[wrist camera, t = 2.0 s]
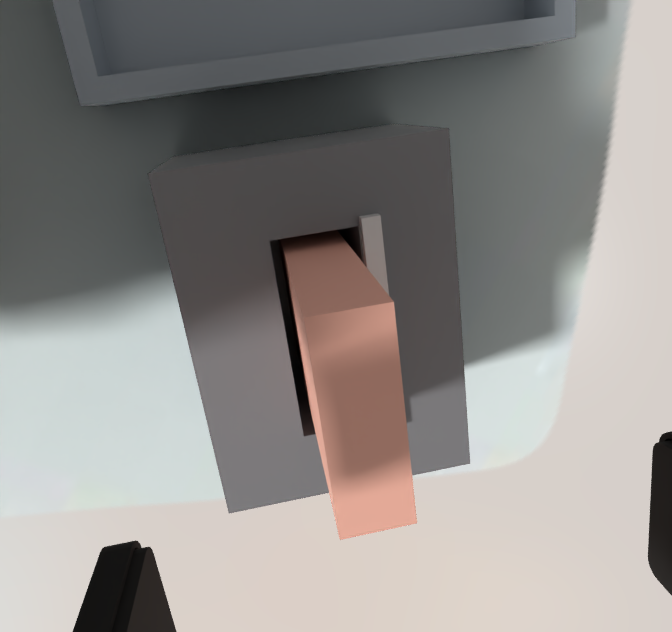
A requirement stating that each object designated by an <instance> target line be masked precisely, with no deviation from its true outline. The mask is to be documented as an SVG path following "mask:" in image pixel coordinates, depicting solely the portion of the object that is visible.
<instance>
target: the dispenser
mask: <svg viewBox="0 0 672 632" xmlns="http://www.w3.org/2000/svg"><path fill="white" fill-rule="evenodd" d="M148 177H149V181H150V186H151V190H152V194H153V198H154V202H155V206H156V211H157V215H158V219H159V223H160V227H161V232H162V236H163V240H164V244H165V248H166V252H167V257H168V261H169V265H170V269H171V273H172V278H173V282H174V286H175V290H176V294H177V298H178V303H179V307H180V311H181V315H182V319H183V323H184V328H185V332H186V336H187V340H188V344H189V349H190V353H191V357H192V361H193V365H194V369H195V374H196V378H197V382H198V386H199V390H200V394H201V399H202V403H203V407H204V411H205V415H206V420H207V424H208V428H209V432H210V436H211V440H212V445H213V449H214V453H215V457H216V461H217V465H218V470H219V474H220V478H221V482H222V486H223V491H224V495H225V499H226V503H227V507H228V511H229V513H233V512H238V511H243V510H248V509H252V508H257V507H262V506H267V505H272V504H277V503H281V502H286V501H291V500H296V499H301V498H306V497H310V496H315V495H320V494H325V493H329V490H328V485H327V481H326V476H325V472H324V468H323V463H322V459H321V455H320V450H319V446H318V441H317V437H316V433H315V428H314V424H313V420H312V415H311V411H310V406H309V402H308V398H307V393H306V389H305V385H304V380H303V376H302V371H301V367H300V363H299V358H298V354H297V348H296V342H295V336H294V330H293V324H292V318H291V313H290V307H289V301H288V295H287V289H286V283H285V277H284V272H283V266H282V260H281V254H280V248H279V242H278V239H283V238H289V237H295V236H301V235H308V234H314V233H320V232H326V231H332V230H337V231H338V232H339V233H340V235H341V236H342V237H343V238H344V240H345V241H346V242H347V243H348V245H349V246H350V247H351V248H352V250H353V251H354V252H355V253H356V255H357V256H358V257H359V258H360V260H361V261H362V262H363V264H364V265H365V266H366V267H367V269H368V270H369V271H370V272H371V274H372V275H373V276H374V277H375V279H376V280H377V281H378V282H379V284H380V285H381V286H382V287H383V289H384V290H385V291H386V292H387V294H388V295H389V296H390V297H391V299H392V300H393V301H394V308H395V317H396V327H397V336H398V346H399V355H400V365H401V374H402V384H403V394H404V403H405V413H406V422H407V432H408V441H409V451H410V460H411V470H412V475H416V474H421V473H426V472H431V471H436V470H441V469H445V468H450V467H455V466H460V465H465V464H470V454H469V438H468V423H467V407H466V391H465V376H464V360H463V344H462V328H461V313H460V297H459V281H458V266H457V250H456V234H455V218H454V203H453V187H452V171H451V156H450V140H449V128H438V127H427V126H415V125H404V124H387V125H380V126H374V127H367V128H360V129H353V130H347V131H340V132H333V133H326V134H320V135H313V136H306V137H299V138H293V139H286V140H279V141H272V142H265V143H259V144H252V145H245V146H238V147H232V148H225V149H218V150H211V151H205V152H198V153H191V154H184V155H178V156H173V157H172V158H170V159H169V160H167V161H166V162H164V163H163V164H161V165H160V166H158V167H157V168H155V169H154V170H152V171H151V172H149V173H148Z"/></svg>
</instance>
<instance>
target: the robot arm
mask: <svg viewBox="0 0 672 632" xmlns="http://www.w3.org/2000/svg"><path fill="white" fill-rule="evenodd" d="M652 460H653V461H652V480H651V481H652V482H651V501H650V523H649V545H648V546H649V547H648V561H649V565H650V568H651V570H652V572H653V574H654V576H655V577H656V578H657V580H658V581H659V582H660V583H661V584H662V585H663V586H664V587H665V589H666V590H667V591H668V592H669V593H670V594H671V595H672V432H667V433H664V434H662V436H661V437H660V440H659V442H658V443H656V444H655V445H654V447H653V457H652ZM73 632H176V629H175V625H174V622H173V619H172V615H171V612H170V608H169V605H168V601H167V598H166V595H165V591H164V588H163V584H162V581H161V577H160V574H159V571H158V567H157V564H156V561H155V557H154V554H153V551H152V549H151V548H150V547H145V548H141V545H140V543H139V542H138V541H132V542H127V543H122V544H117V545H112V546H107V547H104V548H103V549H102V550H101V552H100V555H99V557H98V561H97V563H96V566H95V569H94V572H93V575H92V577H91V581H90V583H89V586H88V589H87V592H86V595H85V598H84V601H83V604H82V606H81V609H80V612H79V615H78V618H77V621H76V624H75V627H74V629H73Z"/></svg>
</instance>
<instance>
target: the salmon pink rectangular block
mask: <svg viewBox="0 0 672 632" xmlns="http://www.w3.org/2000/svg"><path fill="white" fill-rule="evenodd" d="M278 242H279V248H280V254H281V260H282V266H283V272H284V277H285V283H286V289H287V295H288V301H289V307H290V313H291V318H292V324H293V330H294V336H295V342H296V348H297V354H298V358H299V363H300V367H301V371H302V376H303V380H304V385H305V389H306V393H307V398H308V402H309V406H310V411H311V415H312V420H313V424H314V428H315V433H316V437H317V441H318V446H319V450H320V455H321V459H322V463H323V468H324V472H325V476H326V481H327V485H328V490H329V494H330V498H331V503H332V507H333V511H334V516H335V520H336V525H337V529H338V533H339V537H340V540H341V539H346V538H351V537H356V536H360V535H365V534H369V533H374V532H379V531H383V530H388V529H393V528H397V527H402V526H406V525H411V524H416V523H417V518H416V509H415V498H414V489H413V479H412V470H411V460H410V451H409V441H408V432H407V422H406V413H405V403H404V394H403V384H402V374H401V365H400V355H399V346H398V336H397V327H396V317H395V308H394V301H393V300H392V299H391V297H390V296H389V295H388V294H387V292H386V291H385V290H384V289H383V287H382V286H381V285H380V284H379V282H378V281H377V280H376V279H375V277H374V276H373V275H372V274H371V272H370V271H369V270H368V269H367V267H366V266H365V265H364V264H363V262H362V261H361V260H360V258H359V257H358V256H357V255H356V253H355V252H354V251H353V250H352V248H351V247H350V246H349V245H348V243H347V242H346V241H345V240H344V238H343V237H342V236H341V235H340V233H339V232H338V231H337V230H332V231H326V232H320V233H314V234H308V235H301V236H295V237H289V238H283V239H278Z"/></svg>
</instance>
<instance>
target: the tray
mask: <svg viewBox="0 0 672 632" xmlns="http://www.w3.org/2000/svg"><path fill="white" fill-rule="evenodd" d="M52 3H53V7H54V10H55V14H56V18H57V21H58V25H59V29H60V33H61V36H62V40H63V44H64V48H65V51H66V55H67V59H68V63H69V66H70V70H71V74H72V77H73V81H74V85H75V89H76V92H77V96H78V100H79V104H80V105H82V106H104V105H112V104H119V103H126V102H133V101H140V100H148V99H155V98H162V97H169V96H177V95H184V94H191V93H198V92H206V91H213V90H220V89H227V88H234V87H242V86H249V85H256V84H263V83H271V82H278V81H285V80H292V79H300V78H307V77H314V76H321V75H328V74H336V73H343V72H350V71H357V70H365V69H372V68H379V67H386V66H394V65H401V64H408V63H415V62H422V61H430V60H437V59H444V58H451V57H459V56H466V55H473V54H480V53H488V52H495V51H502V50H509V49H516V48H524V47H531V46H538V45H542V44H547V43H551V42H556V41H561V40H565V39H570V38H574V37H576V0H52Z"/></svg>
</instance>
